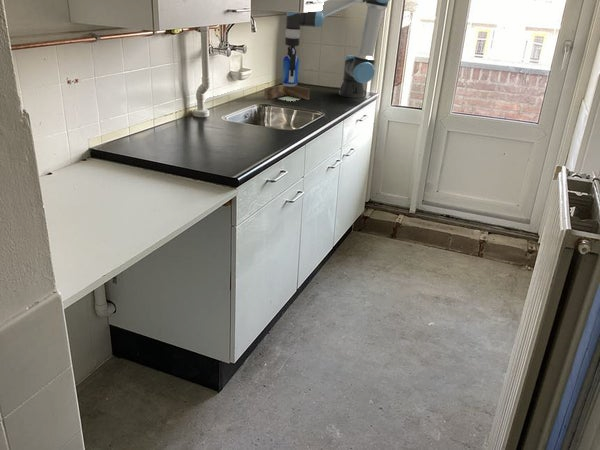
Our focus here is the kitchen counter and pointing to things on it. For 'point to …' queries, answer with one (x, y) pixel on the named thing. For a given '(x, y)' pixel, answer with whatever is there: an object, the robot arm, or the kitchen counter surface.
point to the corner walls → (286, 92)
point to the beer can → (286, 72)
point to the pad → (289, 98)
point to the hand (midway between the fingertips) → (290, 80)
